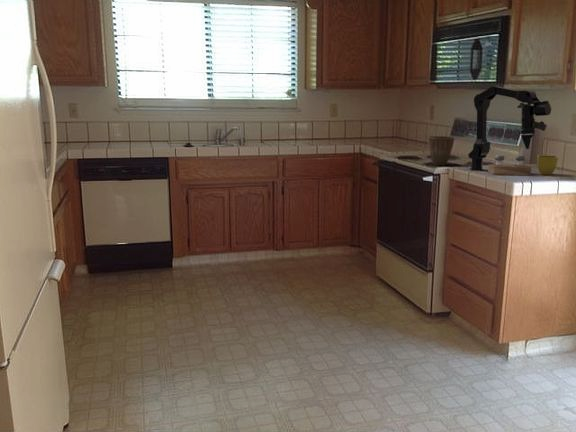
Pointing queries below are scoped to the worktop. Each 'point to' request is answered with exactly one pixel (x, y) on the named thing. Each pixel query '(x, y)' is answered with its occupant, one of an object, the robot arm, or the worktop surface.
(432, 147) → the plant pot
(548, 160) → the flower pot
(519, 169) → the mount
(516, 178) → the worktop surface
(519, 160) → the knob
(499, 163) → the knob
